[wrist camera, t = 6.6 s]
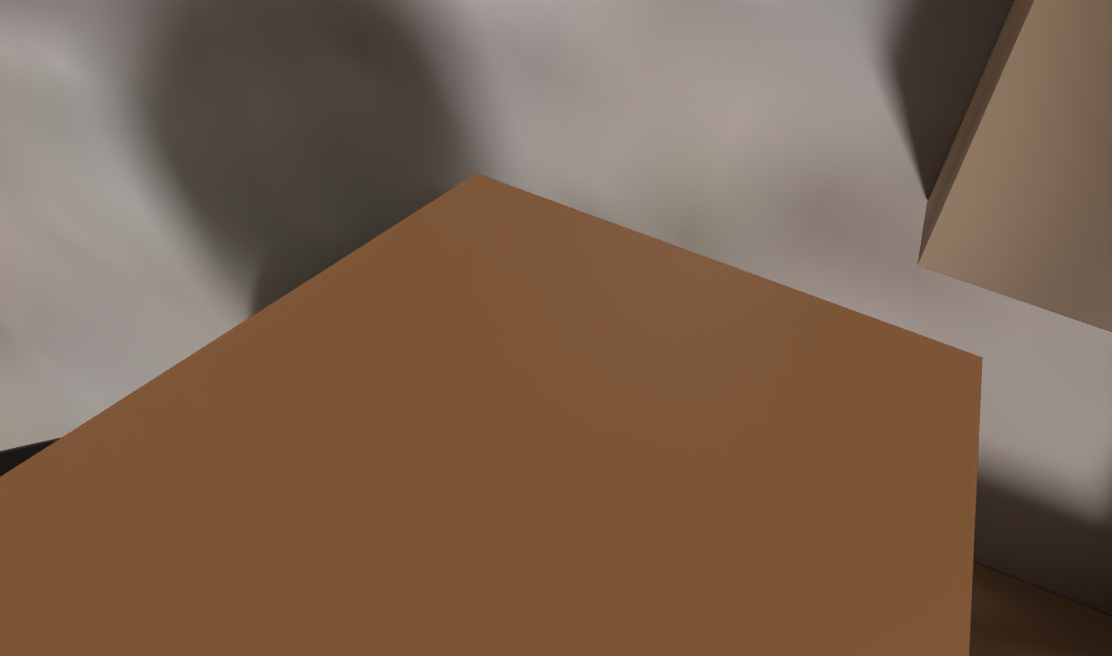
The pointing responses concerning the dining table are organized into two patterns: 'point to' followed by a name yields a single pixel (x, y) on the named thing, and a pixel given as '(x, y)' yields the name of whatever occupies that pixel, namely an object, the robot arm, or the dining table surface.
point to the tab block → (513, 466)
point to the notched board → (1034, 243)
